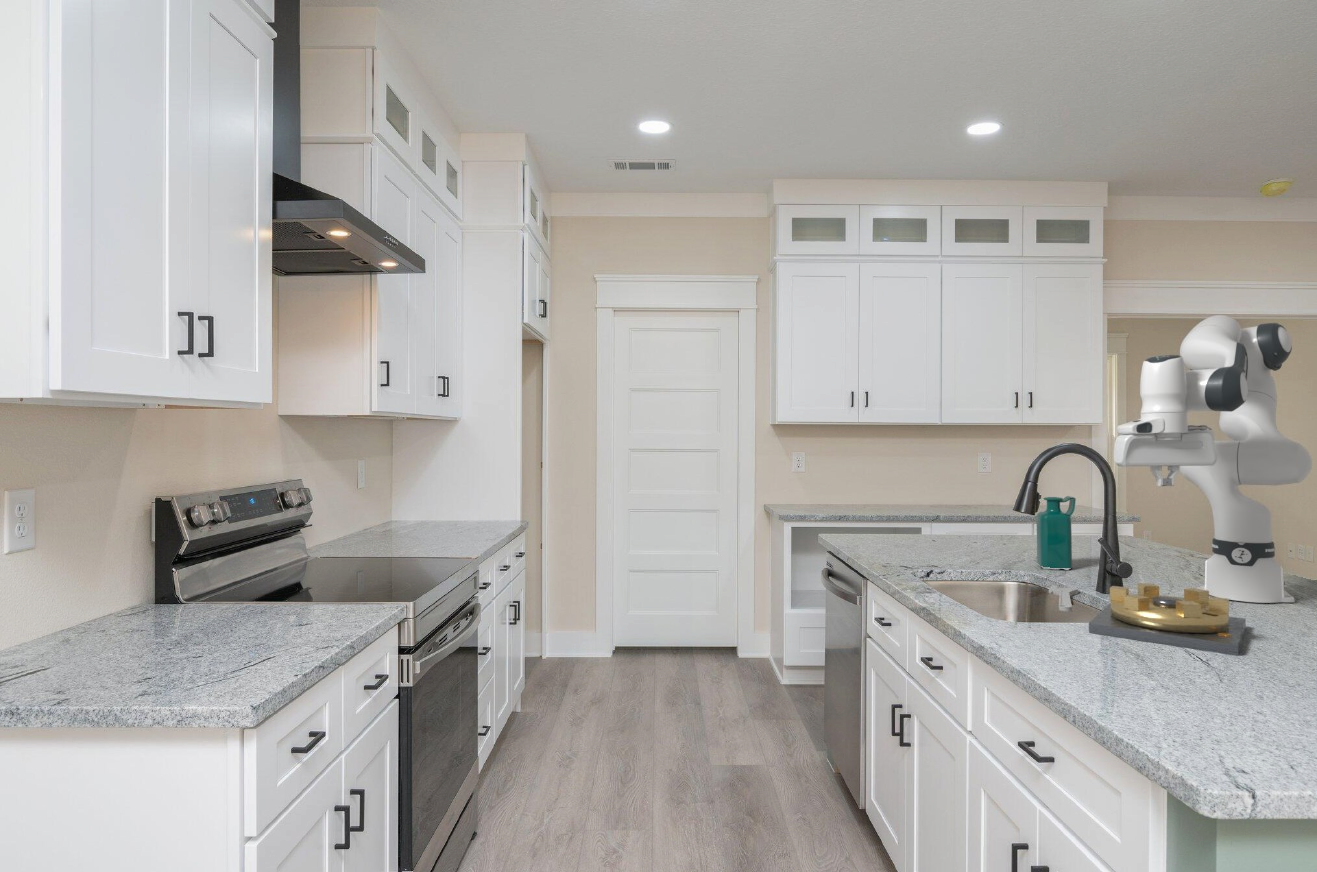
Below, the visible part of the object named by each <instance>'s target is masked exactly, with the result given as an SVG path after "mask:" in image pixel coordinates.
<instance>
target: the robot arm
mask: <svg viewBox="0 0 1317 872" xmlns="http://www.w3.org/2000/svg"><path fill="white" fill-rule="evenodd" d="M1292 343H1293V341H1292V338H1291V335H1290V333H1289V332H1288V331H1287V329H1286V328H1285V327H1284V325H1282V324H1280V323H1278V322H1277V323H1276V322H1268V323H1262V324H1261V323H1260V324H1259V325H1257V326H1250V327H1249V326H1248V327H1243V328H1242V327H1241V325H1240V324H1239V322H1238V321H1237V320H1236V319H1235V318H1233V317H1232V316H1228V315H1224V314H1216V315H1212V316H1209V317H1206V318H1205V319H1203V320H1201V321H1200V322H1199V323H1197V324H1196V325H1195V326H1193V328H1192V329H1191V330H1190V331H1189V332H1188V333H1187V335H1186V336H1185V337H1184V339H1183V340H1182V341H1181V343H1180V347H1179V355H1178V354H1168V355H1167V354H1166V355H1158V356H1152V357H1149V358H1148V357H1147V358H1146V359H1145V360H1143V362H1142V366H1141V371H1140V381H1139V396H1140V398H1141V402H1142V403H1141V404H1142V405H1141V408H1140V418H1138V419H1136V420H1132V421H1128V422H1126V423H1123V424H1119V425H1118V426H1117V429H1116V430H1117V431H1116V432H1117V433H1118V434H1119V435H1118V436H1117V437H1116V439H1115V441H1114V448H1113V450H1114V451H1113V461H1114V463H1115V465H1117V467H1150V472H1151V473H1152V476H1154V478H1155V481H1156V482H1155V485H1156V487H1174V486H1175V479H1176V478H1177V475H1178V474H1179V473H1180V474H1181V475H1182V476H1183V477H1184V478H1185V479H1186V480H1187V481H1189V482H1191V483H1192V484H1194V485H1195V486H1196V487H1198V489H1199V490H1200V491H1202V493H1203V494H1204V495H1205V497H1206V498H1207V500H1208V503H1209V505H1210V507H1211V510H1212V516H1213V517H1212V518H1213V529H1214V530H1213V531H1214V535H1213V536H1214V537H1213V538H1212V540H1211V541H1212V542H1211V547H1212V548H1211V551H1212V553H1213V554H1212V555H1211V556H1210V557H1209V558H1208V559H1206V560H1205V563H1204V566H1205V567H1204V568H1205V569H1204V584H1203V585H1200V586H1197V587H1196V588H1197V589H1202V590H1207V591H1209V596H1210V597H1218V598H1227V599H1229V601H1230V600H1232V601H1238V602H1246V603H1257V604H1258V603H1260V604H1265V603H1266V604H1268V603H1269V604H1274V603H1296V600H1295V599H1296V598H1295V597H1294V596H1293V595H1291V594H1290V593H1289V592H1287V591H1286V590H1284V587H1285V585H1286V583H1285V581H1284V569H1283V566H1281V564H1280V563H1278V562H1277V561H1276V560H1275V558H1274V557H1275V556H1276V552H1275V551H1276V546H1275V542H1274V541H1273V532H1272V531H1273V528H1272V527H1273V526H1272V525H1273V523H1272V522H1273V519H1272V513H1271V511H1270V509H1269V508H1268V507H1267V506H1266V505H1265V504H1264V503H1261V502H1259V501H1258V500H1255V499H1252V498H1250V497H1248V496H1246V495H1243V494H1242V492H1241V491H1240V489H1239V486H1242V485H1243V486H1245V485H1246V486H1247V485H1249V486H1250V485H1251V486H1283V485H1292V484H1299V483H1301V482H1303V481H1304V480H1306V478H1308V476H1309V474H1311V470H1312V469H1313V468H1312V467H1313V459H1312V456H1311V453H1310V452H1309V451H1308V449H1307V448H1306V447H1304V446H1303V445H1302V444H1300V443H1298V442H1295V441H1293V440H1291V439H1289V438H1288V437H1286V436H1284V434H1282V433H1281V432H1280V430H1279V429H1278V427H1277V417H1276V416H1277V403H1278V402H1277V401H1278V396H1277V387H1276V383H1275V379H1274V378H1273V376H1272V374H1271V371H1274V372H1277V371H1279V370H1280V369H1281V368H1282V366H1283V364H1284V363H1285V362H1286V361H1287V360H1288V358H1289V356H1290V355H1291V353H1292V349H1293V347H1292V346H1293V345H1292ZM1186 367H1187V368H1188V369H1190V370H1187V369H1186ZM1212 411H1213V412H1219V421H1218V427H1219V430H1221V432H1222V433H1223V434H1224V435H1225V436H1226V437H1228V438H1229V439H1230V440H1215V431H1214V430H1213V429H1212V428H1211V427H1209V426H1208V425H1205V424H1204V425H1203V424H1201V425H1189V412H1212ZM1163 467H1167V471H1168V474H1167V476H1166V477H1163V475H1162V473H1161V472H1162V471H1163Z"/></svg>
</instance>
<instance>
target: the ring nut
mask: <svg viewBox="0 0 1317 872" xmlns="http://www.w3.org/2000/svg"><path fill="white" fill-rule="evenodd" d="M1136 585H1137V594H1130V593H1129V590H1130V589H1129V587H1126V586H1117V585H1112V586H1110V587H1109V600H1110V603H1111V615H1112V616H1113V617H1114V618H1116V619H1118V620H1120V621H1123V622H1126V623H1130V624H1133V625H1138V626H1142V627H1147V628H1153V629H1159V630H1167V631H1176V632H1191V633H1211V632H1220V631H1224V630H1227V629H1228V628H1229V617H1230V614H1229V613H1230V600H1229V599H1227V598H1219V597H1215V596H1210V595H1209V591H1207V590H1202V589H1197V587H1193V588H1192V587H1190V588H1184V589H1183V596H1184V597H1180V596H1179V597H1178V596H1170V595H1162V594H1161V595H1160V586H1159V585H1157V584H1155V583H1145V582H1144V583H1143V582H1142V583H1141V582H1137V584H1136Z"/></svg>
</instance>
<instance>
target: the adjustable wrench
mask: <svg viewBox="0 0 1317 872" xmlns="http://www.w3.org/2000/svg"><path fill="white" fill-rule="evenodd" d="M1048 593H1049V594H1052V595H1057V596H1058V610H1059V611H1060V612H1061V611H1063V612H1072V611H1073V607H1072V600H1071V597H1072V596H1075V595H1078V594H1079V588H1078V587H1076V586H1073V585H1066V587H1059V586H1057V585H1054V584H1053V585H1051V586H1050V587H1048Z"/></svg>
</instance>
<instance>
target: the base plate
mask: <svg viewBox="0 0 1317 872" xmlns="http://www.w3.org/2000/svg"><path fill="white" fill-rule="evenodd" d="M1246 625H1247V622H1246V618H1243V617H1233V616H1229V628H1228V629H1227V630H1224V631H1220V632H1211V633H1191V632H1176V631H1167V630H1159V629H1153V628H1147V627H1142V626H1138V625H1133V624H1130V623H1126V622H1123V621H1120V620H1118V619H1116V618H1114V617H1113V616H1112V615H1111V602H1110V603H1109V604H1108V605H1107V606H1105V608H1103V610H1101V611H1100V612H1099V613H1098V614H1097V615H1096V616H1095V617H1094V618H1093V619H1092V620H1090V622H1088V633H1089V634H1095V635H1099V636H1101V635H1102V636H1108V637H1114V638H1121V639H1128V640H1134V641H1140V642H1141V641H1142V642H1147V643H1154V644H1161V645H1167V646H1173V647H1174V646H1175V647H1179V648H1186V649H1191V650H1197V651H1198V650H1199V651H1207V652H1213V653H1219V654H1224V655H1225V654H1226V655H1233V656H1239V654H1240V651H1241V647H1242V643H1243V639H1244V636H1245V632H1246V629H1247V626H1246Z"/></svg>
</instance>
